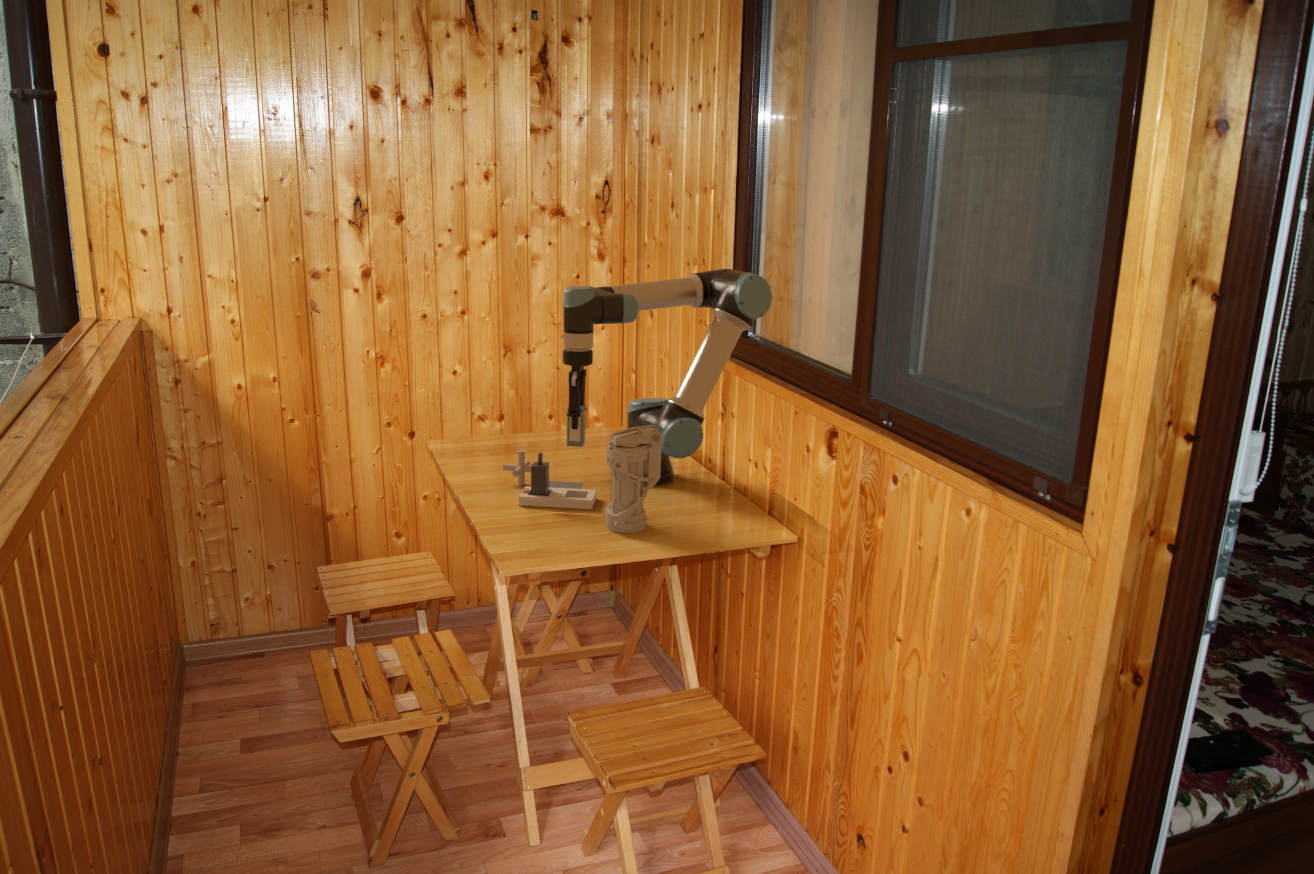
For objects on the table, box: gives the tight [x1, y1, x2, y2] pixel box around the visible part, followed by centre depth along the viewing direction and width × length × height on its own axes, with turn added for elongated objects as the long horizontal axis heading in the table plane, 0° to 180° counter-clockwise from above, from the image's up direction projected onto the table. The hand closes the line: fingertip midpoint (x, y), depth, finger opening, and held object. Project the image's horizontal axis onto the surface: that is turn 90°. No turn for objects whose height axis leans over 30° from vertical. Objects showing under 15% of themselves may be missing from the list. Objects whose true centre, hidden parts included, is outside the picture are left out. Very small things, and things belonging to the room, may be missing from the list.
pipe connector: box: [502, 449, 532, 486], centre depth 284 cm, size 10×10×10 cm
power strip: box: [518, 485, 598, 511], centre depth 271 cm, size 19×9×4 cm, turn 86°
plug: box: [566, 404, 587, 448], centre depth 266 cm, size 4×4×10 cm
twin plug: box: [530, 452, 550, 496], centre depth 270 cm, size 4×4×13 cm
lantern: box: [604, 425, 662, 534], centre depth 254 cm, size 13×10×25 cm
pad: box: [549, 480, 584, 489], centre depth 284 cm, size 10×10×1 cm
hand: (576, 438), depth 267 cm, fingers closed on plug, 4 cm apart
